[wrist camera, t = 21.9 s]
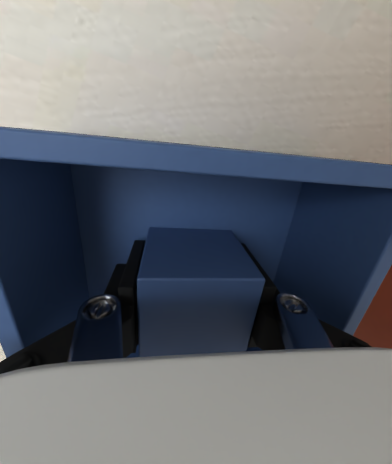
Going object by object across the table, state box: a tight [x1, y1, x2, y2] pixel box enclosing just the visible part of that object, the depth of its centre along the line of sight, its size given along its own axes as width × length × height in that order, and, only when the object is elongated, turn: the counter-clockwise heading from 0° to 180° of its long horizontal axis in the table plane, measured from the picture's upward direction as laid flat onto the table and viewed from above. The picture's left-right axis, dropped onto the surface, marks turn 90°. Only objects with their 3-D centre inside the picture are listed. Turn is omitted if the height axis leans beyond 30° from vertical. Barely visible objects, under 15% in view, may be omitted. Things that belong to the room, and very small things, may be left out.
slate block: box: [137, 227, 265, 357], centre depth 10 cm, size 4×4×4 cm
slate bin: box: [0, 127, 392, 358], centre depth 10 cm, size 12×12×6 cm
